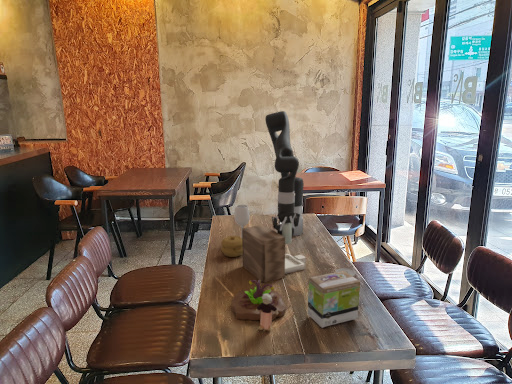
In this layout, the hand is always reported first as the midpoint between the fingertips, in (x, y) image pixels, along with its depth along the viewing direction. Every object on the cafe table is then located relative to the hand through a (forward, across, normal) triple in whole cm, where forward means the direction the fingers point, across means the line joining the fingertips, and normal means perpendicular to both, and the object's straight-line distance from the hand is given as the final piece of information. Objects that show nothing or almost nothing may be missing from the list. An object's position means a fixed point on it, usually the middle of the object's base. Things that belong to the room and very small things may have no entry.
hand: (285, 236), depth 171 cm
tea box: (+15, +8, +44) cm, 47 cm away
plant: (+15, +28, +25) cm, 40 cm away
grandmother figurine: (+15, +32, +39) cm, 53 cm away
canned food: (+15, -4, +36) cm, 39 cm away
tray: (+15, 0, 0) cm, 15 cm away
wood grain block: (+15, +12, 0) cm, 19 cm away
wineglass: (+15, +5, -36) cm, 39 cm away
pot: (+15, +16, -24) cm, 32 cm away
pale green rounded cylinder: (+3, 0, 0) cm, 3 cm away
